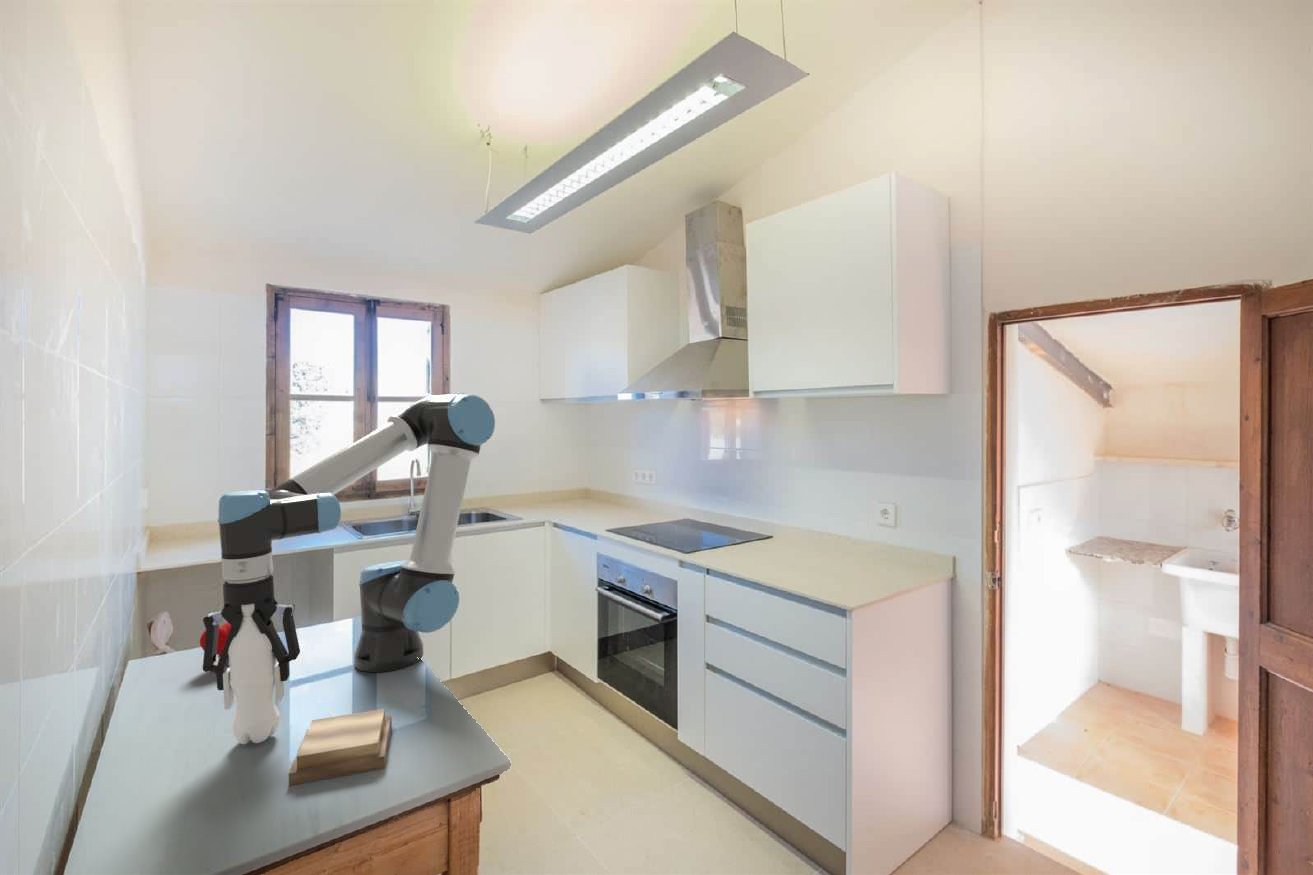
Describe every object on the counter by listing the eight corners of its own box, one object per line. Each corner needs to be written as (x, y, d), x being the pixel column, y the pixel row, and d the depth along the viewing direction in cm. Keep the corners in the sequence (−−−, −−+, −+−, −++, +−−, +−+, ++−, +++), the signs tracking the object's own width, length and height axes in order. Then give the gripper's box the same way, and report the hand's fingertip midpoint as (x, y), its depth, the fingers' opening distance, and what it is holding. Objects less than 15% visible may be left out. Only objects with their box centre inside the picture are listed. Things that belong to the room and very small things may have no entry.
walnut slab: (307, 739, 110) (307, 729, 110) (391, 725, 114) (391, 715, 114) (288, 785, 97) (288, 773, 96) (384, 767, 101) (384, 756, 101)
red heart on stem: (242, 655, 147) (240, 615, 146) (254, 662, 143) (252, 621, 142) (196, 669, 140) (194, 626, 139) (207, 677, 135) (205, 633, 135)
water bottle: (275, 722, 115) (268, 593, 113) (285, 736, 110) (277, 602, 108) (229, 737, 110) (221, 602, 108) (237, 753, 105) (229, 612, 103)
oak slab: (312, 730, 109) (312, 720, 109) (385, 719, 113) (384, 708, 113) (297, 768, 98) (296, 756, 98) (378, 754, 102) (377, 742, 102)
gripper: (171, 590, 101) (180, 722, 103) (307, 577, 108) (313, 702, 109) (189, 577, 108) (197, 701, 110) (315, 566, 115) (321, 683, 116)
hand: (255, 701), depth 110 cm, fingers closed on water bottle, 7 cm apart
